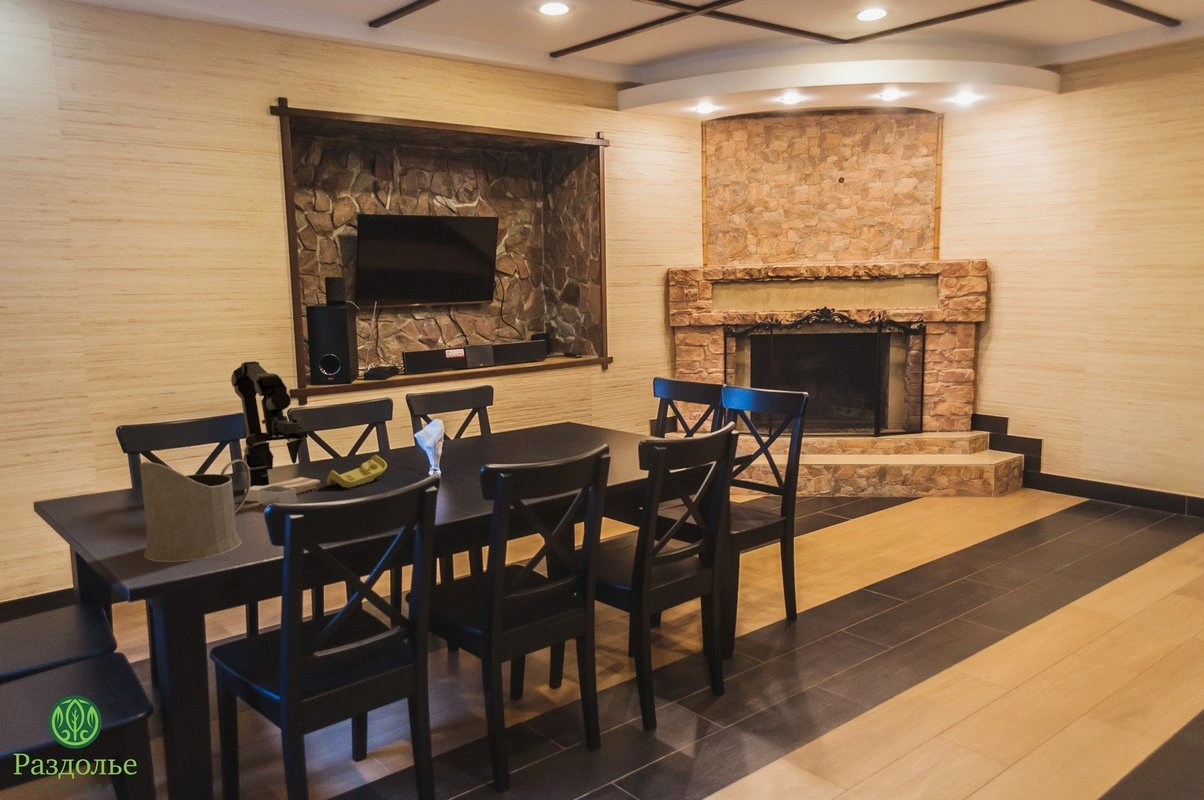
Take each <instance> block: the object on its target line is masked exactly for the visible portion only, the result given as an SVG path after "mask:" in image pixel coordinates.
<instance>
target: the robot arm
mask: <svg viewBox="0 0 1204 800" xmlns="http://www.w3.org/2000/svg"><path fill="white" fill-rule="evenodd" d="M230 379H231V385H232V387H233V389H234V392H235V394H236V395H237V396H238V397H239V398H240V399H241V405H242V411H243V417H244V423H245V431H246V438H245V445H246V446H245V447H244V450H243V451H244V452H243V453H244V454H243V458H242V460H243V461H245V462H246V463H247V465H248V467H249V471H250V487H252V486H266V485H270V482H269V481H270V480H269V474H268V473H269V472H268V470H273V467H274V454H273V453H272V451H271V448H270V442H271V441H273V442H274V441H284V440H287V442H286V446H287V449H288V453H289V456H290V460H291V462H292V464H296V463H297V460H298V453H299V449H300V446H301V444H302V443H303V442H305V440H306V439H308V437H309V435H308V431H307V430H306V429H303V421H302V419H301V418H293V420H288V417H287V416H286V415H284V410H286V409H287V408H288V407H289V406H290V405H291V401H292V398H291V397H290V395H289V394H288V391H287V390H288V387H287V386H286V384H285V382H284V381H283V380H282V377H280V376H279V375H278V374H276V373H271V372H270V373H269V372H268V371H266V370H265V369H264V367H262V366H261V365H260V363H259V361H256V360H255V361H244V362H241V365H240V366H239V367H238V368H236V369H234V370H233V372H232V374H231V377H230ZM257 394H258V396H259V397H263V398H262V399H261V406H262V407H261V409H262V413H263V420H261V421H260V414H259V409H258V401H257ZM261 424H262V425H264V426H265V431H266V432H262V426H261ZM241 468H242V472H244V473H246V468H245V466H244V464H243V463H242V462H241ZM245 488H247V486H246V487H244V489H245Z"/></svg>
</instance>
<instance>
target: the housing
mask: <svg viewBox="0 0 1204 800" xmlns="http://www.w3.org/2000/svg"><path fill="white" fill-rule="evenodd" d="M297 498H298V497H297V495H296V489H294V488H288V487H282V486H277V485H274V486H270V487H266V488H262V489H259V499H260V502H259V505H260V504H262V505H266V506H265V507H267V505H269V504H273V503H297V504H298V499H297ZM295 501H297V502H295Z"/></svg>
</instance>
